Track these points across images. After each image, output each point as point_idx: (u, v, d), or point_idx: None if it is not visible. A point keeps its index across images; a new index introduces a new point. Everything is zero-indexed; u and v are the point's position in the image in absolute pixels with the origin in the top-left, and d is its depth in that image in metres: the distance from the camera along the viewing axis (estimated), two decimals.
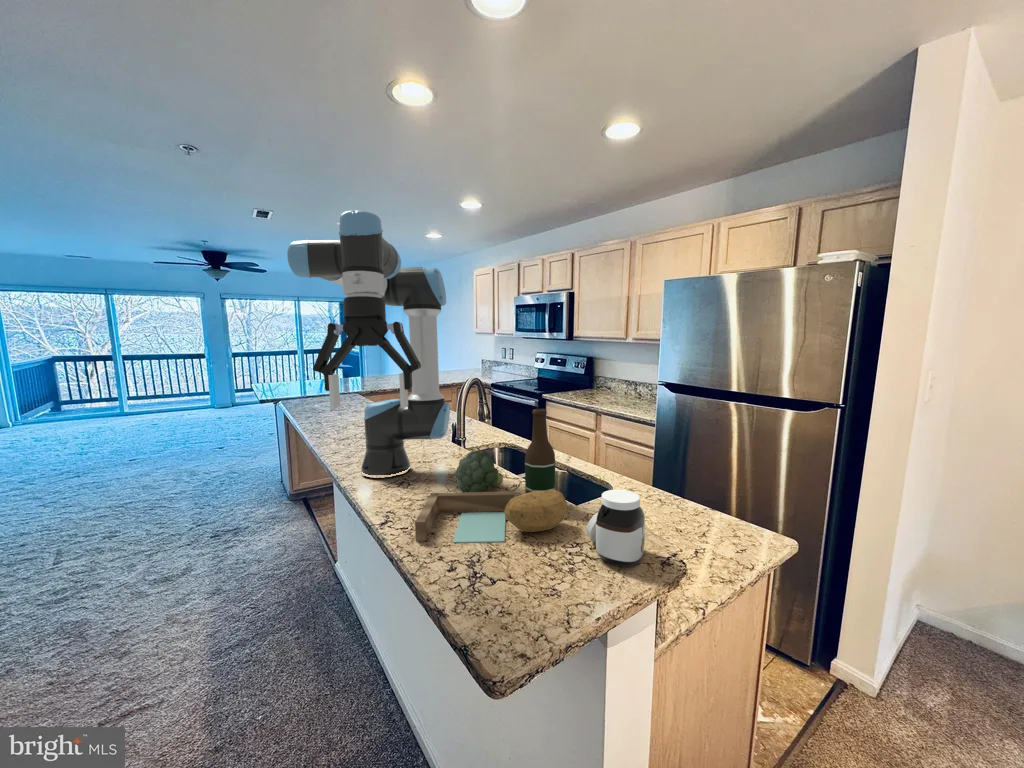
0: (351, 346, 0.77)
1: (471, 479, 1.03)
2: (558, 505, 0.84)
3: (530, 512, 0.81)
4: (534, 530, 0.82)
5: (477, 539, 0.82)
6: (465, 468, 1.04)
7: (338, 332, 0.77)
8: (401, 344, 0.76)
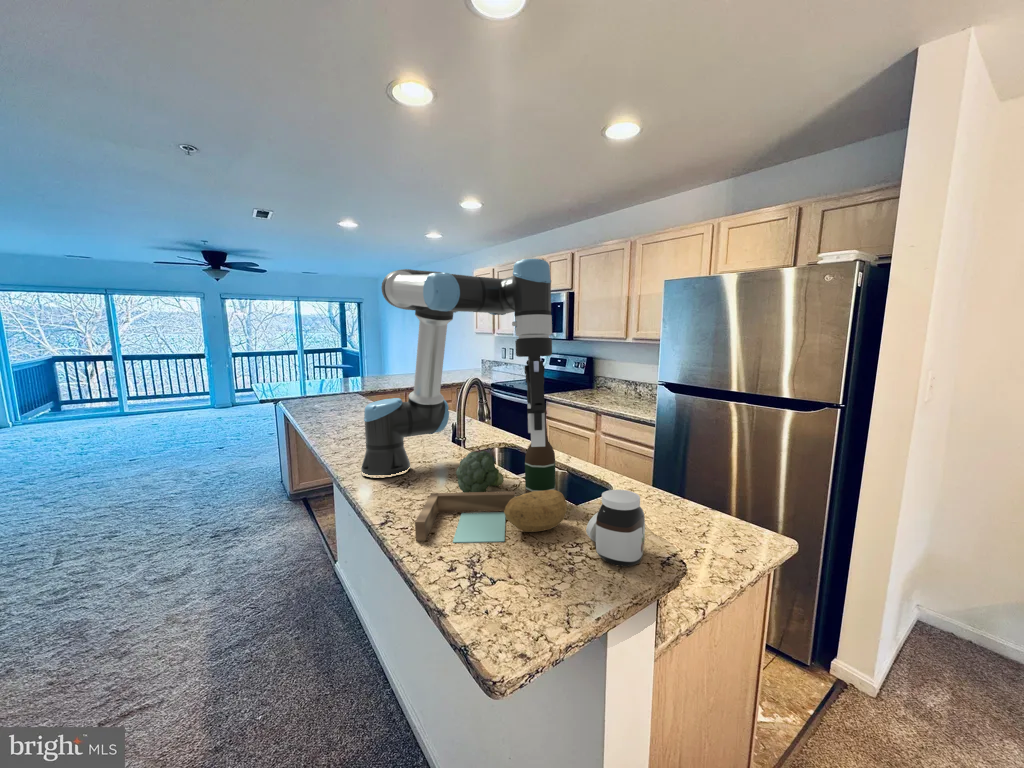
0: None
1: (472, 479, 1.04)
2: (558, 505, 0.84)
3: (530, 512, 0.81)
4: (534, 530, 0.82)
5: (477, 539, 0.82)
6: (465, 468, 1.04)
7: None
8: (530, 384, 0.76)
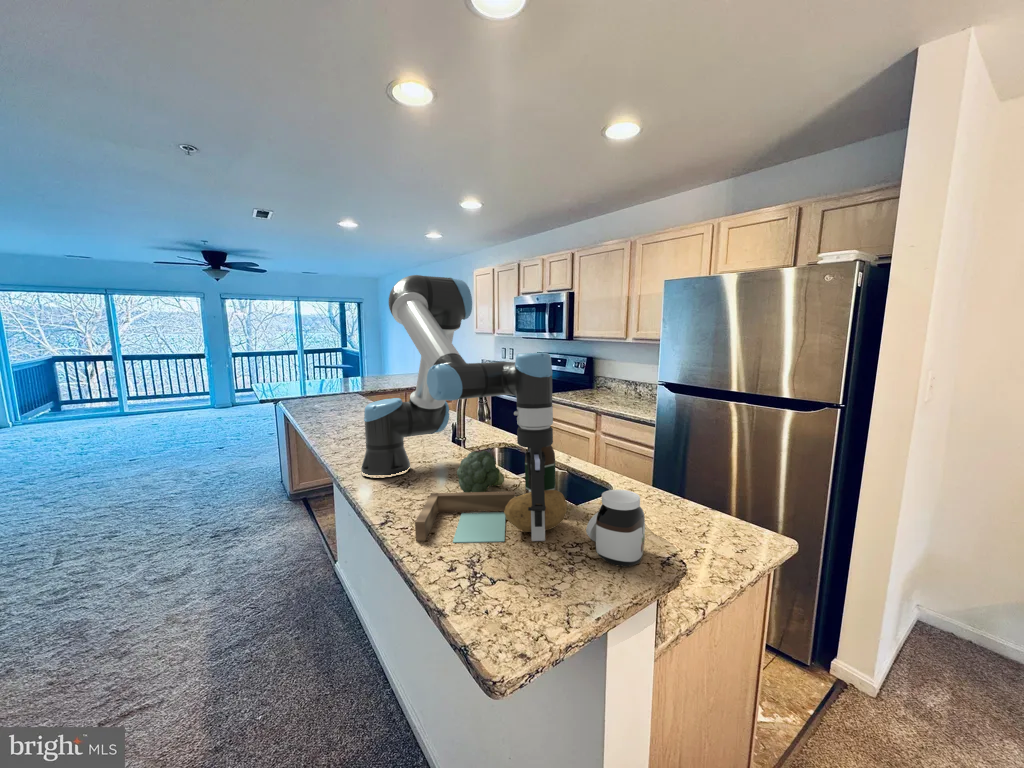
0: None
1: (473, 479, 1.04)
2: (558, 505, 0.83)
3: (530, 512, 0.81)
4: None
5: (477, 539, 0.82)
6: (466, 467, 1.04)
7: None
8: None
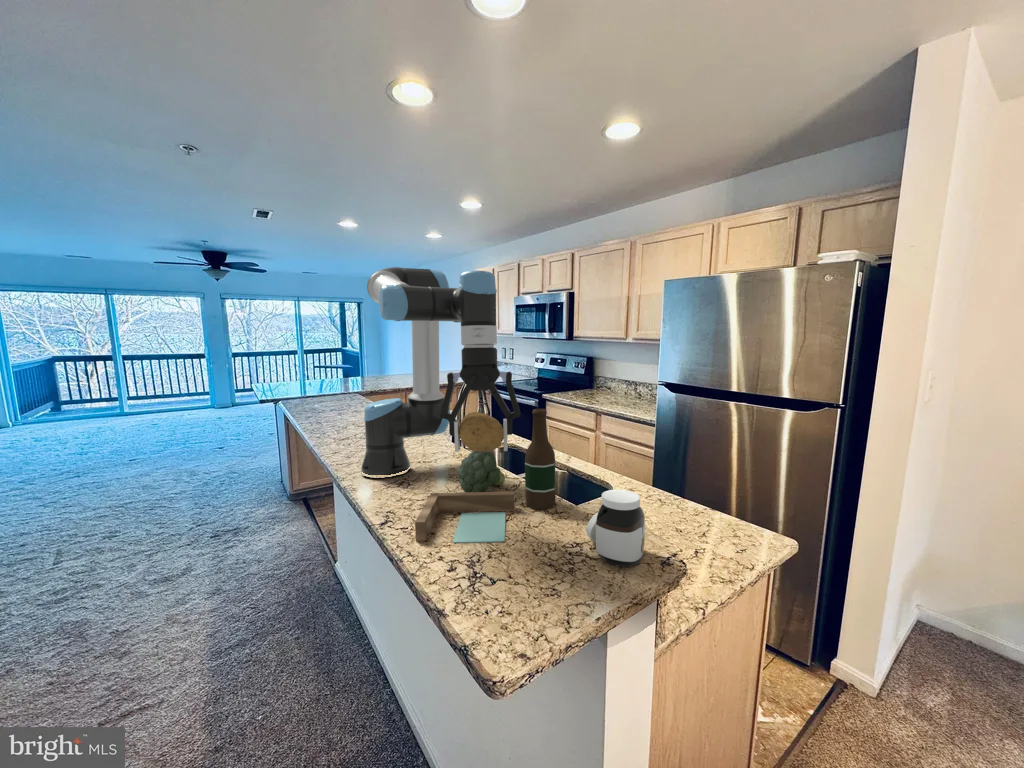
0: (469, 391, 0.86)
1: (473, 478, 1.04)
2: None
3: None
4: None
5: (477, 539, 0.82)
6: (467, 467, 1.05)
7: (456, 380, 0.85)
8: (509, 393, 0.85)
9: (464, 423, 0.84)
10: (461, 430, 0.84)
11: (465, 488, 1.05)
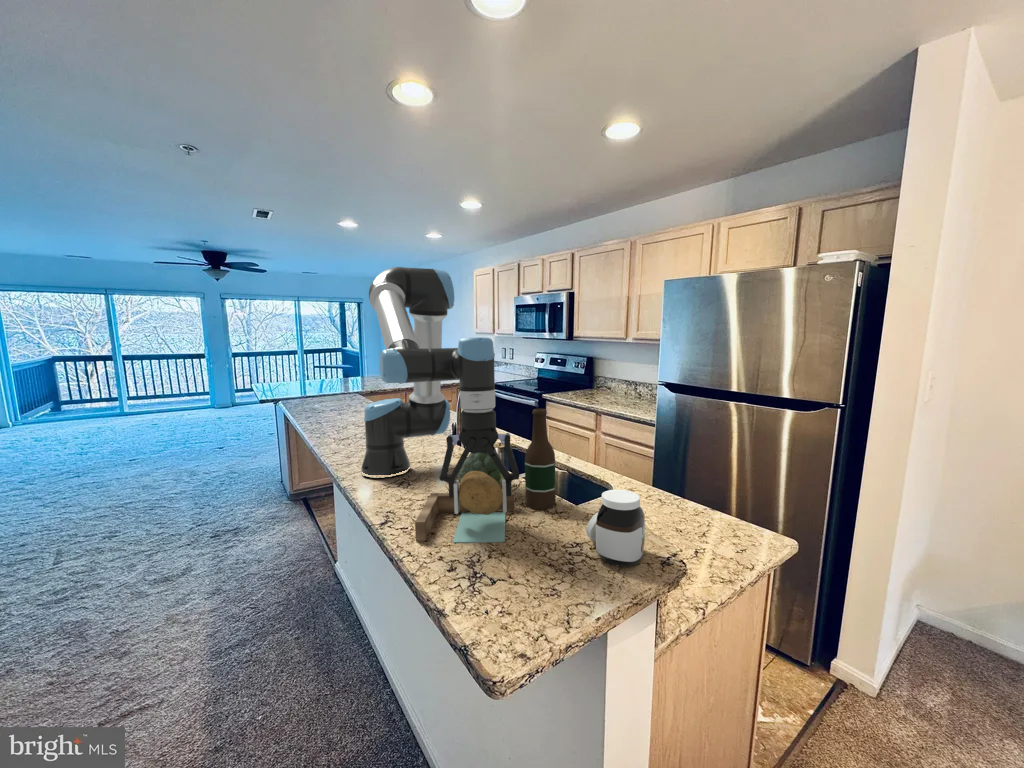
0: None
1: None
2: None
3: (500, 488, 0.86)
4: None
5: (477, 539, 0.82)
6: (468, 467, 1.05)
7: (455, 442, 0.86)
8: (508, 455, 0.85)
9: (463, 486, 0.85)
10: (460, 493, 0.85)
11: None
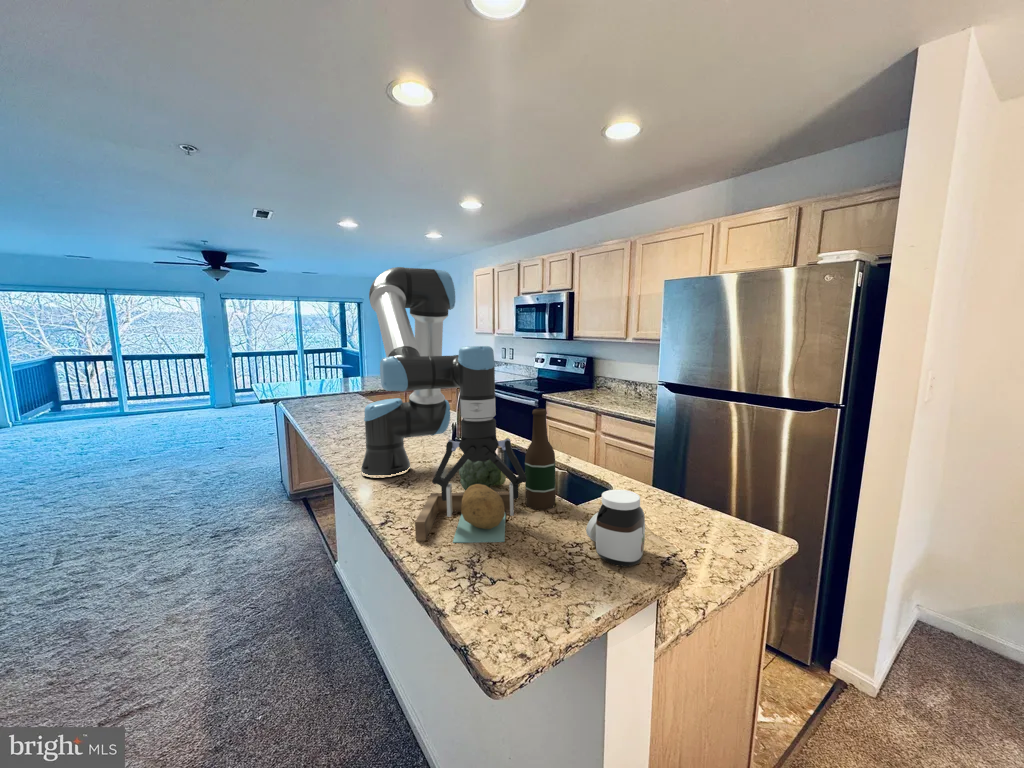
0: None
1: (475, 478, 1.04)
2: None
3: (502, 503, 0.86)
4: None
5: (477, 539, 0.82)
6: (468, 467, 1.05)
7: (455, 449, 0.86)
8: (511, 460, 0.86)
9: (465, 500, 0.86)
10: (462, 507, 0.85)
11: (466, 488, 1.05)
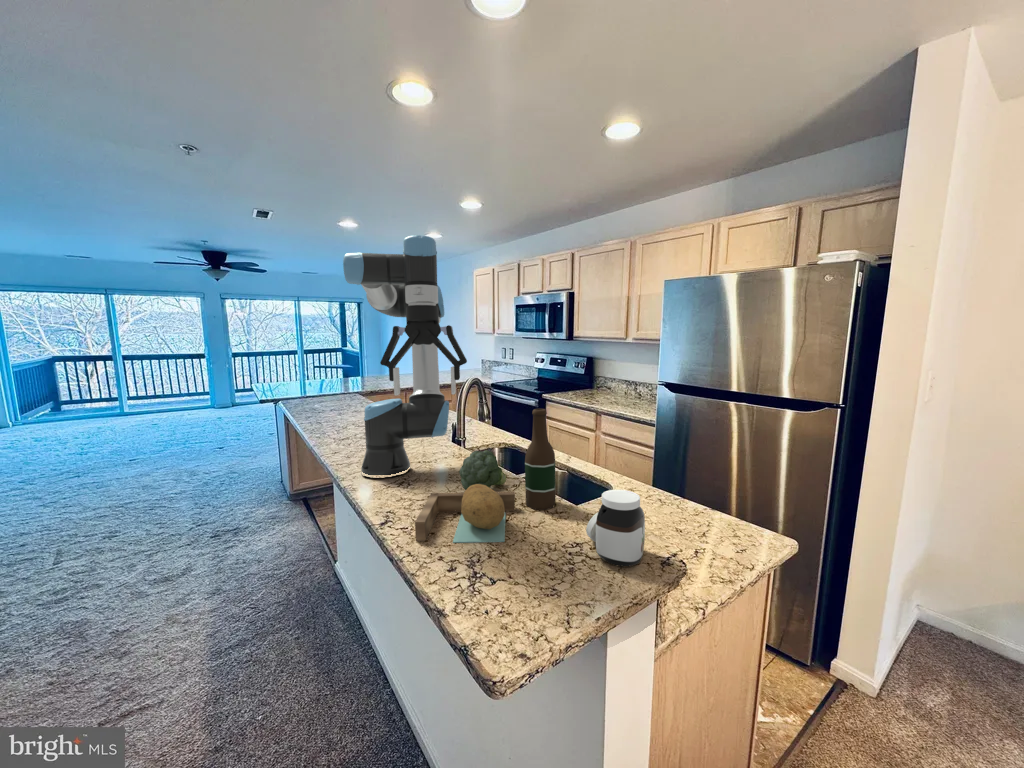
0: (411, 345, 0.95)
1: (475, 478, 1.04)
2: None
3: (502, 503, 0.86)
4: None
5: (477, 539, 0.82)
6: (469, 467, 1.05)
7: (400, 333, 0.95)
8: (452, 343, 0.95)
9: (465, 500, 0.86)
10: (462, 507, 0.85)
11: None
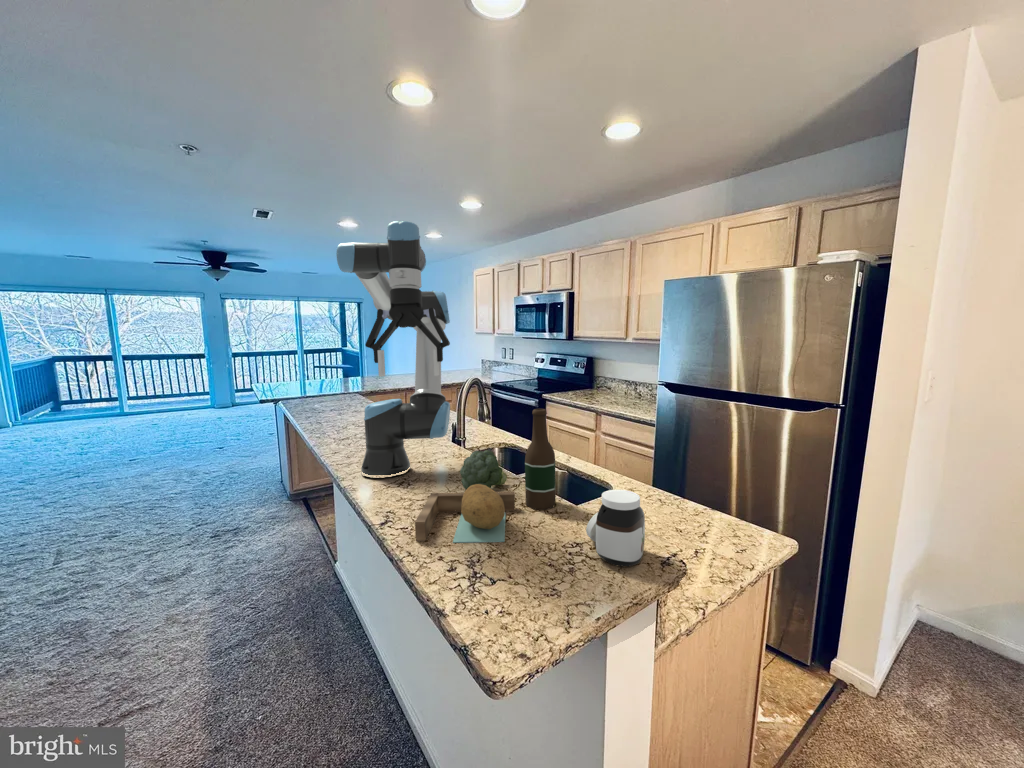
0: (395, 327, 0.98)
1: (476, 478, 1.04)
2: None
3: (502, 503, 0.86)
4: None
5: (477, 539, 0.82)
6: (469, 467, 1.05)
7: (385, 316, 0.98)
8: (435, 325, 0.97)
9: (465, 500, 0.86)
10: (462, 507, 0.85)
11: (467, 487, 1.06)
